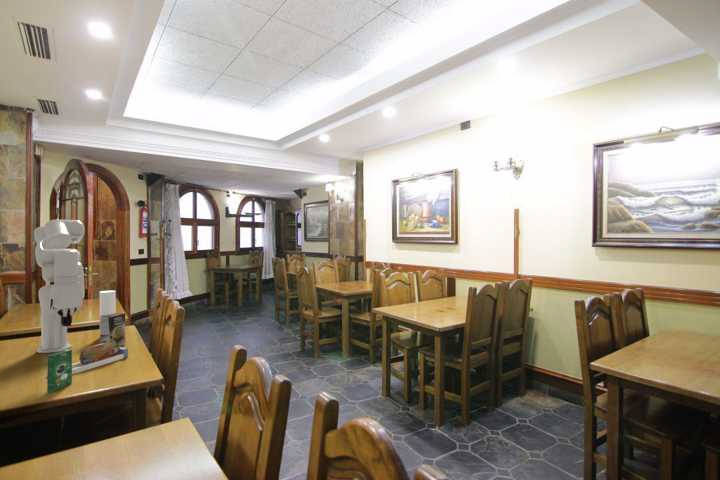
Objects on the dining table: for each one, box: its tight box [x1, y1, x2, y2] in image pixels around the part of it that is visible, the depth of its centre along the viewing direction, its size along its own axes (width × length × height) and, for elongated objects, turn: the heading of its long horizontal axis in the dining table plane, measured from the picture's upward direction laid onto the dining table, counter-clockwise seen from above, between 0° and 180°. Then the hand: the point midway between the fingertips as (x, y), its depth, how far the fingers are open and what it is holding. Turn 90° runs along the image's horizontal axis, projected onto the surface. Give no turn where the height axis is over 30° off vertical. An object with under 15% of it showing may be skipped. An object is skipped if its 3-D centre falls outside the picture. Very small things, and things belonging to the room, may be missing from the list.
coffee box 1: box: [46, 348, 73, 393], centre depth 133 cm, size 8×3×13 cm, turn 178°
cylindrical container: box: [99, 290, 117, 318], centre depth 198 cm, size 7×7×25 cm
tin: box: [79, 342, 120, 365], centre depth 159 cm, size 15×3×8 cm, turn 151°
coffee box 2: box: [99, 312, 126, 347], centre depth 181 cm, size 9×6×16 cm
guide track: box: [72, 346, 129, 375], centre depth 155 cm, size 7×28×4 cm, turn 157°
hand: (66, 325), depth 147 cm, fingers closed
